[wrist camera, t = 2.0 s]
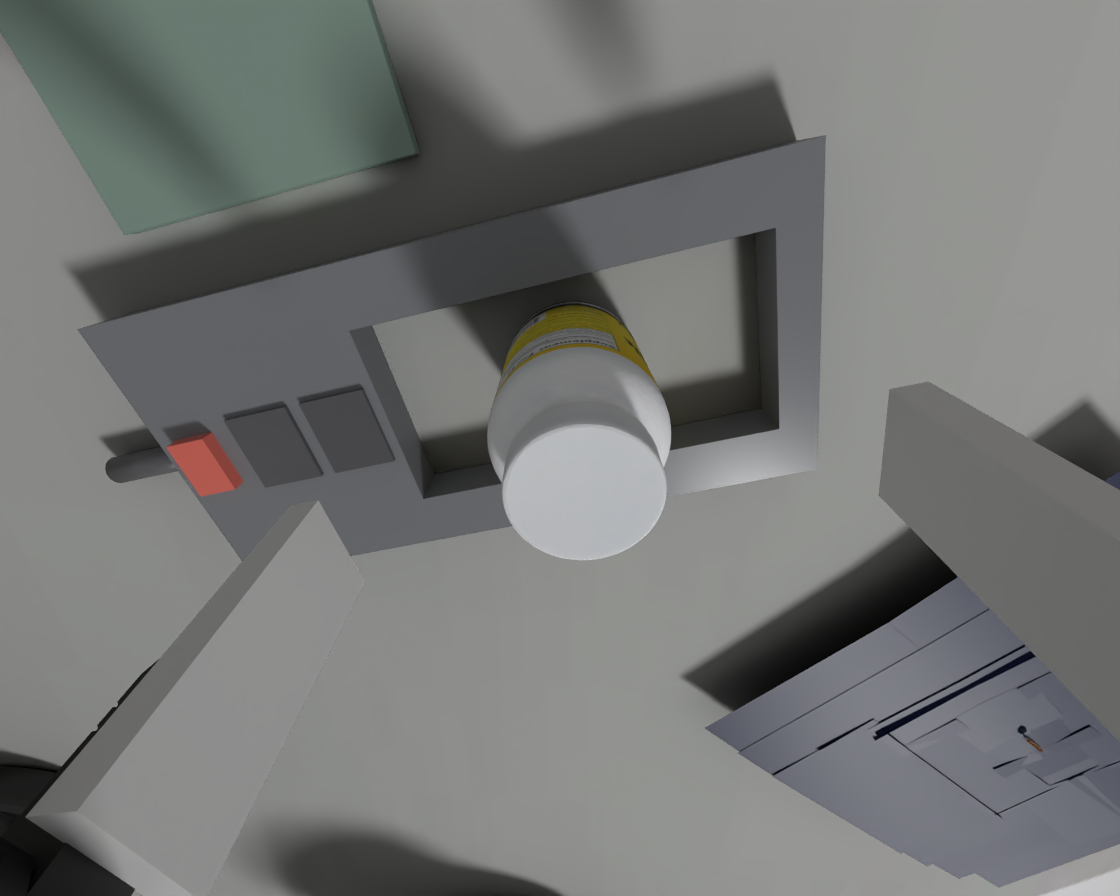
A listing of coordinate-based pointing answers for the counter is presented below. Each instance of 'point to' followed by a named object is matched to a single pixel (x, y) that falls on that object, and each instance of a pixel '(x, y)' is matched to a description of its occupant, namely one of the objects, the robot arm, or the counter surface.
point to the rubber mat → (211, 97)
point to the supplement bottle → (579, 434)
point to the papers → (943, 744)
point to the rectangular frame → (438, 282)
